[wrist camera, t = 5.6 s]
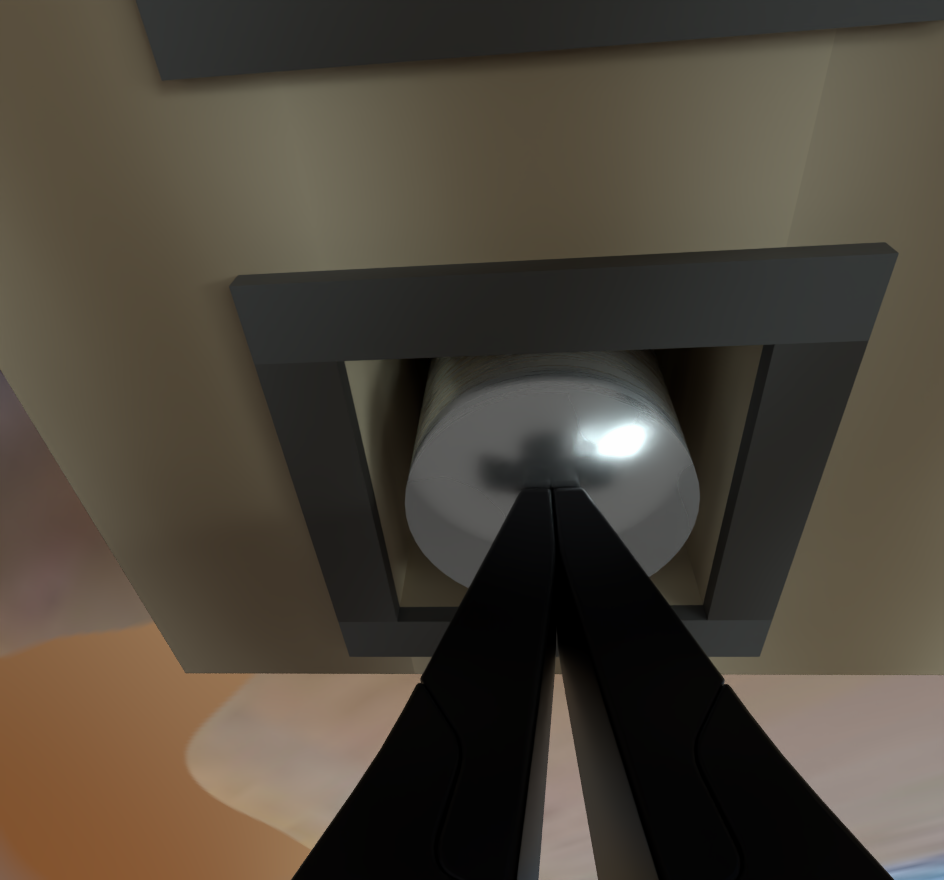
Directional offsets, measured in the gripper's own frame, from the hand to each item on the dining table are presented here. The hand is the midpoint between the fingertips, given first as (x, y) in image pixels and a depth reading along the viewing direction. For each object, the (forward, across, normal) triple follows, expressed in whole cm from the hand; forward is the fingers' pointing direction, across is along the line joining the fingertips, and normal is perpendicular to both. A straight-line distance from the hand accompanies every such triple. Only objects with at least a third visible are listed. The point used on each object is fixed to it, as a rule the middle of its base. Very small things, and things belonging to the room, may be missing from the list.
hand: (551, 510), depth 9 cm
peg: (+6, 0, 0) cm, 6 cm away
